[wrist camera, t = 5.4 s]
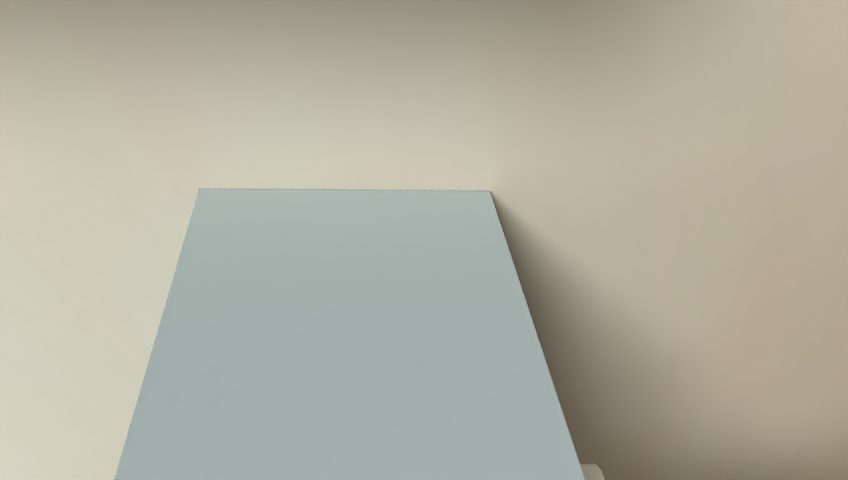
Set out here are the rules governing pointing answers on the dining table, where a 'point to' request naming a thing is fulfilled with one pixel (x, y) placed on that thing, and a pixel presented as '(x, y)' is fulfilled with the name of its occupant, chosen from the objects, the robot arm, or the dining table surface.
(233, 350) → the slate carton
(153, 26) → the dining table surface
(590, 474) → the robot arm
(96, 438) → the dining table surface
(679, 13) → the dining table surface
